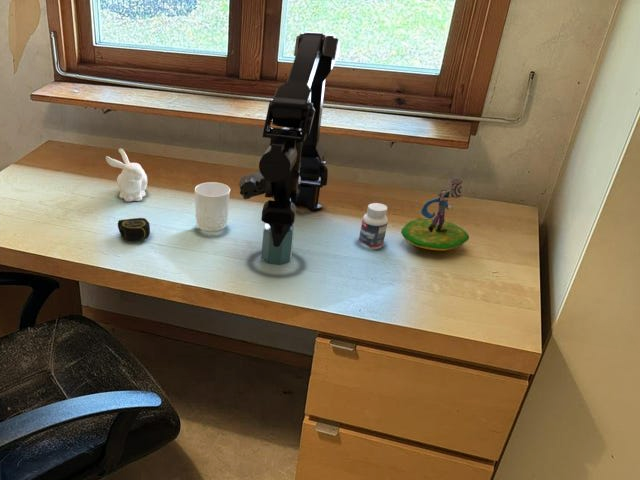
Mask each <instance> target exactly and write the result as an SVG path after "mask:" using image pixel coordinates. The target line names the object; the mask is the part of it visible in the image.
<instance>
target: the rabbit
mask: <svg viewBox="0 0 640 480" xmlns="http://www.w3.org/2000/svg"><path fill="white" fill-rule="evenodd" d="M118 153H119V154H120V155H121V158H122V160H123V162H121V161H120V160H118V159H115V158H111V157H110V156H109V155H106V156H105V161H106V163H107V164H108V165H109V166H111V167H114V168H118V169H122V170H121V173H119V174H118V176H117V177H116V185H117V187H118V189H119V190H120V193H119V198H120V199H123V200H124V201H125V202H129V203H130V202H133V201H135V202H140V201H142V200H143V198H144V197H146V191H145V190H146V189H147V186H148V182H149V180H148V175H147V173H146V172H145V169H144V168H143V167H142V166H141V164H139V163H138V162H130V159H129V158H128V155H127V154H126V152H125V150H124V149H123V148H122V147H120V148H118Z"/></svg>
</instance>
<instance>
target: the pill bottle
mask: <svg viewBox="0 0 640 480" xmlns="http://www.w3.org/2000/svg"><path fill="white" fill-rule="evenodd" d="M387 213H388V206H387V205H386V204H383V203H379V202H372V203H369V204H368V205H367V210H366V213H365V214H364V215H363V216H362V220H361V226H360V230H359V236H358V241H359V242H361V244H364V245H365V246H368V247H369V248H371V249H372V250H378V249H381V248H382V247H383V245H384V242H385V238H386V233H387V228H388V223H389V218H388V216H387Z"/></svg>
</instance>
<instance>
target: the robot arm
mask: <svg viewBox="0 0 640 480" xmlns="http://www.w3.org/2000/svg"><path fill="white" fill-rule="evenodd" d="M340 48H341V42H340V40H339V38H337V37H336V35H335V34H324V32H315V31H314V32H313V31H304V32H303V33H302V32H301V33H300V34H299V35H297V36H296V38H295V45H294V50H293V56H294V59H293V61H292V65H291V68H290V72H289V75H288V78H287V80H286V81H285V82H284V83H283V84H281V85H280V86H278V87H277V88H276V90H275V92H274V96H273V97H272V99H270V100H269V103H268V106H267V112H266V117H265V121H264V126H263V132H262V138H263V139H265V138H266V139H270V141H269V146H268V147H267V149H266V150H265V152H264V153H263V155H262V156H261V158H260V160H259V162H258V170H259V171H256V172H254V173H250V174H246V175H243V176H242V177H241V178H240V180H239V183H238V186H239V189H240V190H239V194H240V195H241V197H242V199H243V200H250V199H251V198H253V197H257V196H261V195H263V194H264V197H265V198H272V199H270V200H267V201H266V202H265V203H264V204H263V207H262V210H261V218H260V219H261V220H260V221H261V222H263V223H264V224H266V223H267V224H268V225H270V228H271V233H272V239H273V245H274V247H279V246H280V244H281V243H282V241H283V239H284V238H285V236H286V234H287V233H288V231H289V229H290V228H291V226H292V225H293V226H294V224H295V220H296V215H297V214H296V213H297V207H303V208H305V209H307V210H308V211H310V212H314V211H317V210H321V209H322V208H323V206H322V205H321V204H319V200H320V199H319V198H320V193H321V189H323V187H325V186H327V185H328V178H329V169H328V167H327V162H326V161H325V153H326V151H325V149H324V147H323V146H322V144H321V142H320V134H321V125H322V116H323V107H324V106H323V105H324V96H325V87H326V79H327V78H328V76H329V75H330V73H331V72H332V70H333V69H334V66H335V64H336V61H338V59H339V56H340V55H339V54H340V50H341V49H340ZM271 125H272V126H273V127H271ZM278 127H280V128H278Z"/></svg>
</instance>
